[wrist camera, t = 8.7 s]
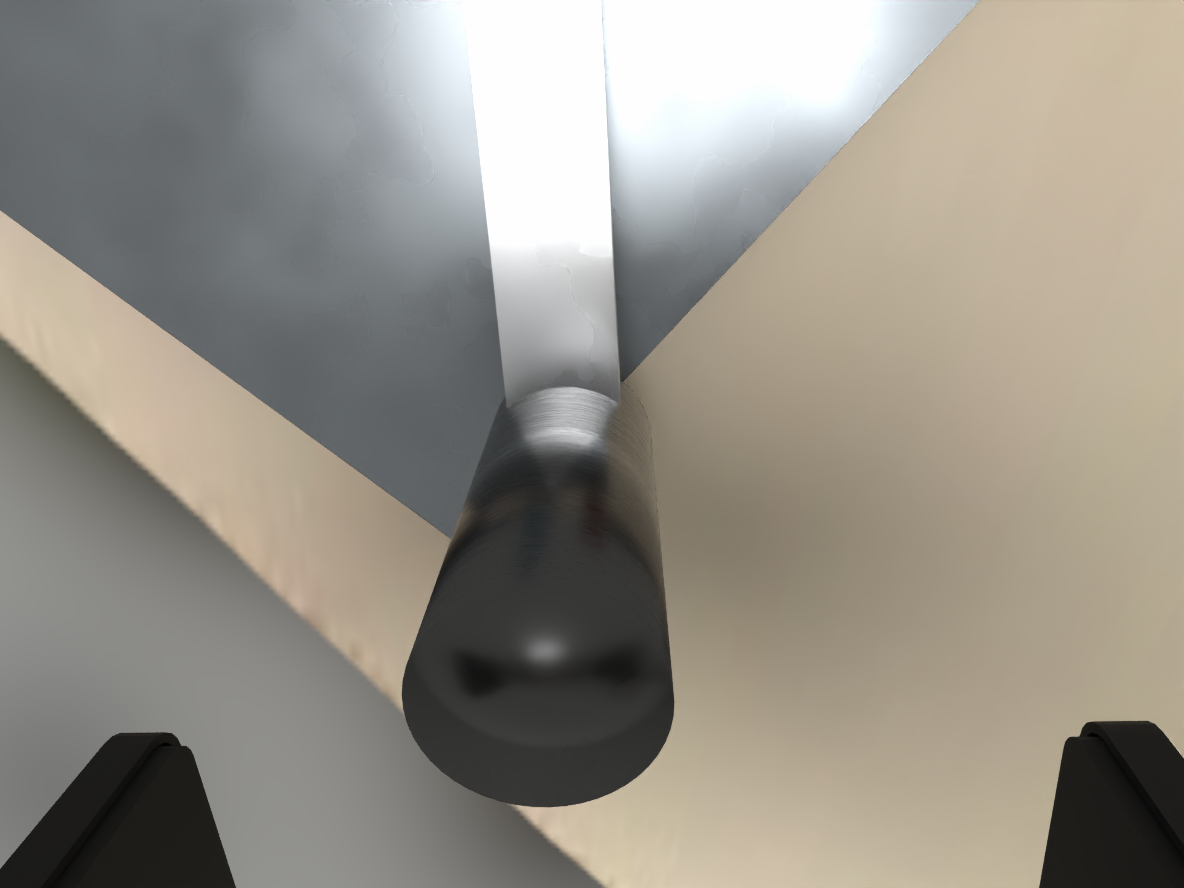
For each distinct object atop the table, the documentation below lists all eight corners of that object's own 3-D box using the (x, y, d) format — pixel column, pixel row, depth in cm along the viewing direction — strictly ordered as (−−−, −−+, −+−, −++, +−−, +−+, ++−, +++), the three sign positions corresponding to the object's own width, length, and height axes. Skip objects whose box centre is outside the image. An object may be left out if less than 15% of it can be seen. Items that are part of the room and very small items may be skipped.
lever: (343, -600, 12) (-165, -1837, 4) (648, -632, 12) (706, -1998, 4) (481, 505, 20) (385, 810, 12) (675, 497, 19) (715, 803, 11)
